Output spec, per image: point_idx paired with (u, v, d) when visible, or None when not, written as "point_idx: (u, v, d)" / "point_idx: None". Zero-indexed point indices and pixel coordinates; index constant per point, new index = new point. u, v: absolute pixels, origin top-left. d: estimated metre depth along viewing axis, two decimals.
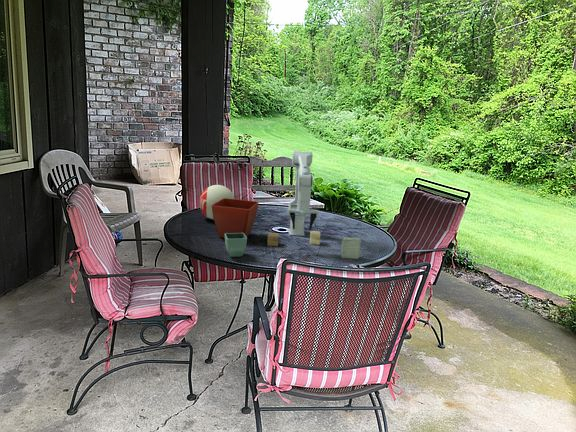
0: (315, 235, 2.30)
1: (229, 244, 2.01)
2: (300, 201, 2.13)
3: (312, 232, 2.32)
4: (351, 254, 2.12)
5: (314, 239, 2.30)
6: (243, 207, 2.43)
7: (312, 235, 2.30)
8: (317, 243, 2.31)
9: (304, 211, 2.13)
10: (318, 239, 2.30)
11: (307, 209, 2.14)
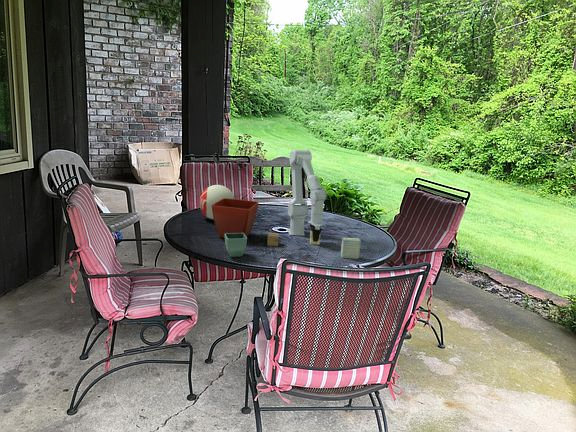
0: None
1: (229, 244, 2.01)
2: None
3: None
4: (351, 254, 2.12)
5: None
6: (243, 207, 2.43)
7: (312, 235, 2.30)
8: (317, 243, 2.31)
9: (309, 221, 2.30)
10: (318, 239, 2.30)
11: (312, 221, 2.29)
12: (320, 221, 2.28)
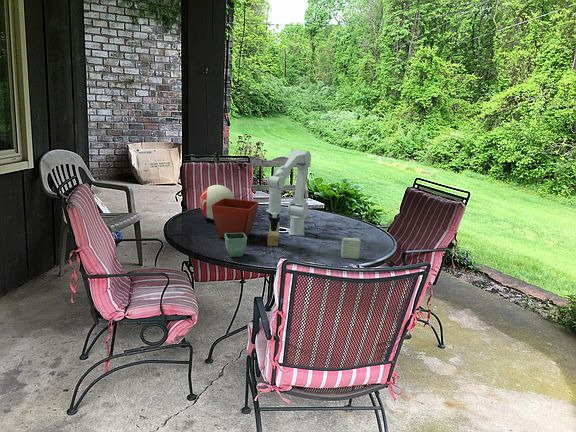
0: None
1: (229, 244, 2.01)
2: None
3: None
4: (351, 254, 2.12)
5: None
6: (243, 207, 2.43)
7: None
8: (276, 234, 2.24)
9: (267, 210, 2.23)
10: (277, 230, 2.23)
11: (269, 209, 2.21)
12: (278, 209, 2.21)
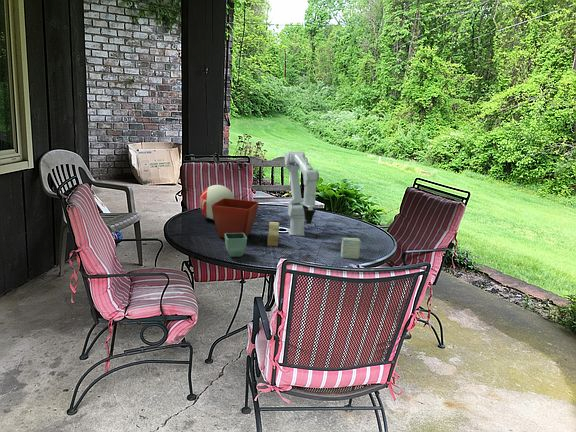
0: (273, 226, 2.23)
1: (229, 244, 2.01)
2: None
3: (271, 223, 2.25)
4: (351, 254, 2.12)
5: (272, 230, 2.23)
6: (243, 207, 2.43)
7: (270, 226, 2.23)
8: (276, 234, 2.24)
9: (302, 203, 2.30)
10: (277, 230, 2.23)
11: (305, 202, 2.28)
12: (313, 202, 2.28)
